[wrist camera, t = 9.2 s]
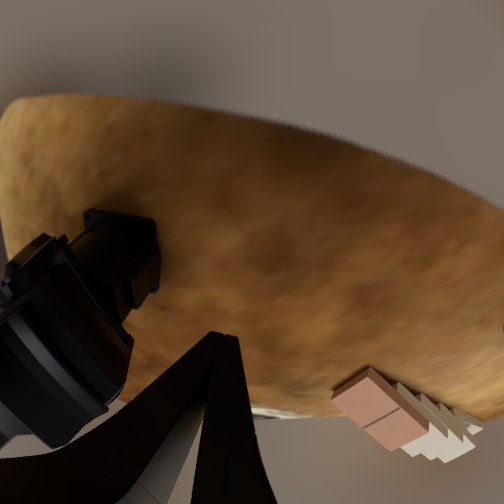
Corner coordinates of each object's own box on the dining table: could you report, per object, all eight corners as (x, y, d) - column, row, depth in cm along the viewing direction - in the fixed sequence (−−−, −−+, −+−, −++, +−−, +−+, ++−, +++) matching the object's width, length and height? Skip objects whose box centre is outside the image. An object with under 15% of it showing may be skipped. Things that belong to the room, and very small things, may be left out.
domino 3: (385, 422, 28) (430, 460, 26) (420, 401, 25) (463, 443, 23) (387, 412, 29) (431, 451, 27) (421, 392, 27) (463, 433, 25)
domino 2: (360, 413, 27) (412, 457, 25) (396, 391, 25) (447, 439, 23) (363, 403, 28) (413, 447, 27) (398, 381, 26) (448, 428, 24)
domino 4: (406, 429, 28) (444, 463, 26) (440, 410, 26) (475, 447, 24) (408, 420, 30) (445, 454, 28) (440, 401, 27) (475, 438, 25)
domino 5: (424, 435, 29) (456, 444, 30) (455, 416, 26) (483, 428, 28) (422, 425, 30) (454, 436, 32) (453, 406, 28) (481, 420, 29)
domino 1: (329, 401, 26) (390, 451, 25) (367, 376, 24) (428, 432, 22) (334, 390, 28) (392, 440, 26) (370, 366, 25) (429, 421, 23)
